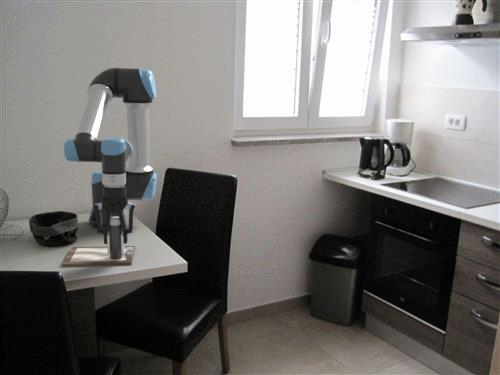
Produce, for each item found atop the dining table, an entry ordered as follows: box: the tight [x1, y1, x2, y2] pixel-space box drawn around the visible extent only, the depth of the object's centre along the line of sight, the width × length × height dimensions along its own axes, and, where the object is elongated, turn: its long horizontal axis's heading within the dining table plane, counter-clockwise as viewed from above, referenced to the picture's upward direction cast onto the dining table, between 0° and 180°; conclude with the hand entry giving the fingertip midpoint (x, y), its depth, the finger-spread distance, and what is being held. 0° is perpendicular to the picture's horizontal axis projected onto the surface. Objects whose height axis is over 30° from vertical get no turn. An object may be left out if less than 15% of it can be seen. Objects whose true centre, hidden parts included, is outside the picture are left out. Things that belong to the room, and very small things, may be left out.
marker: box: [108, 216, 123, 260], centre depth 161 cm, size 4×4×14 cm
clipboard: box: [62, 245, 136, 268], centre depth 165 cm, size 16×22×2 cm
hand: (116, 252), depth 162 cm, fingers closed on marker, 4 cm apart
